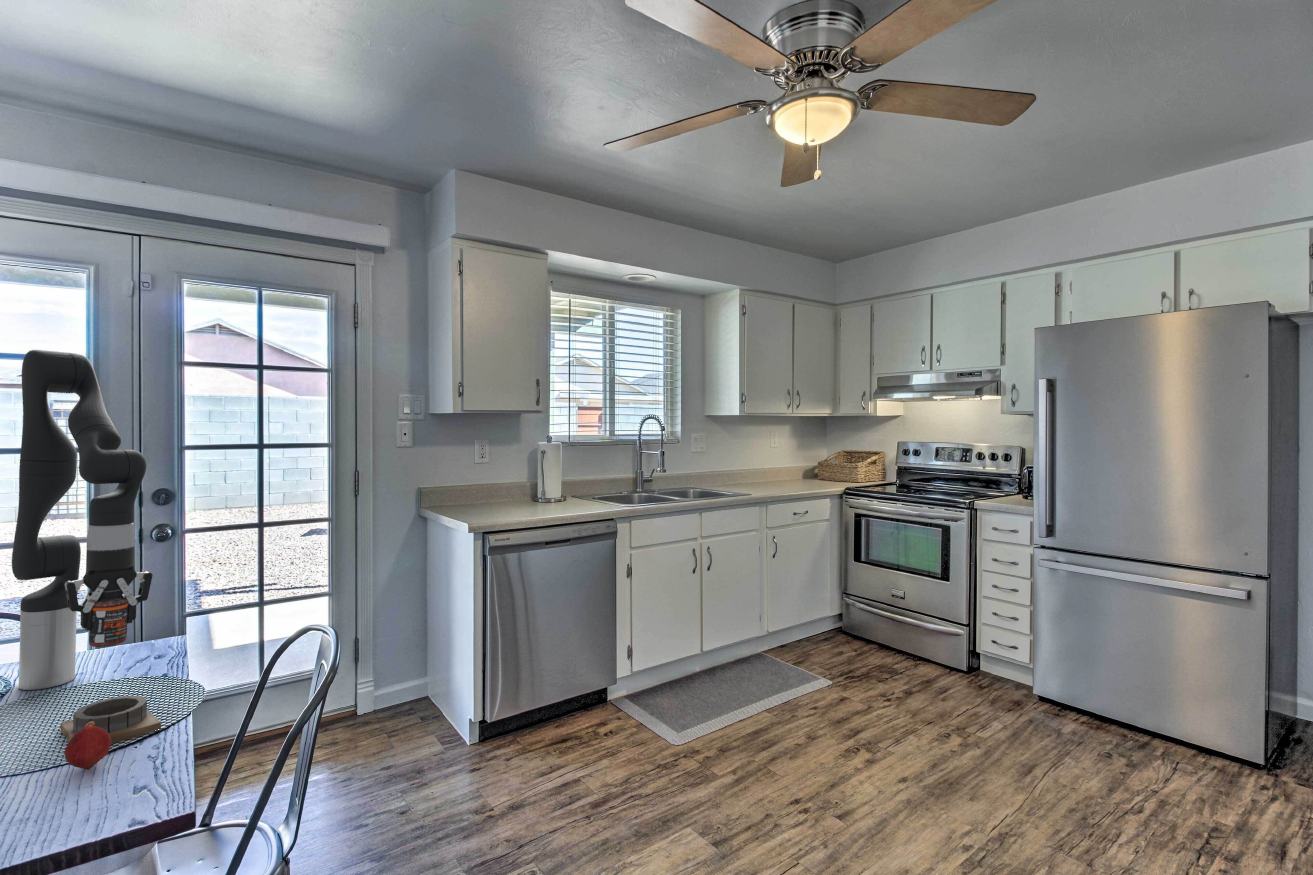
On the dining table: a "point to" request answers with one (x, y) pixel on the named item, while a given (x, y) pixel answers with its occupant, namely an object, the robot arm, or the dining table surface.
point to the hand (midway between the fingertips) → (108, 625)
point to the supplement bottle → (109, 619)
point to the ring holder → (114, 718)
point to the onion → (88, 746)
